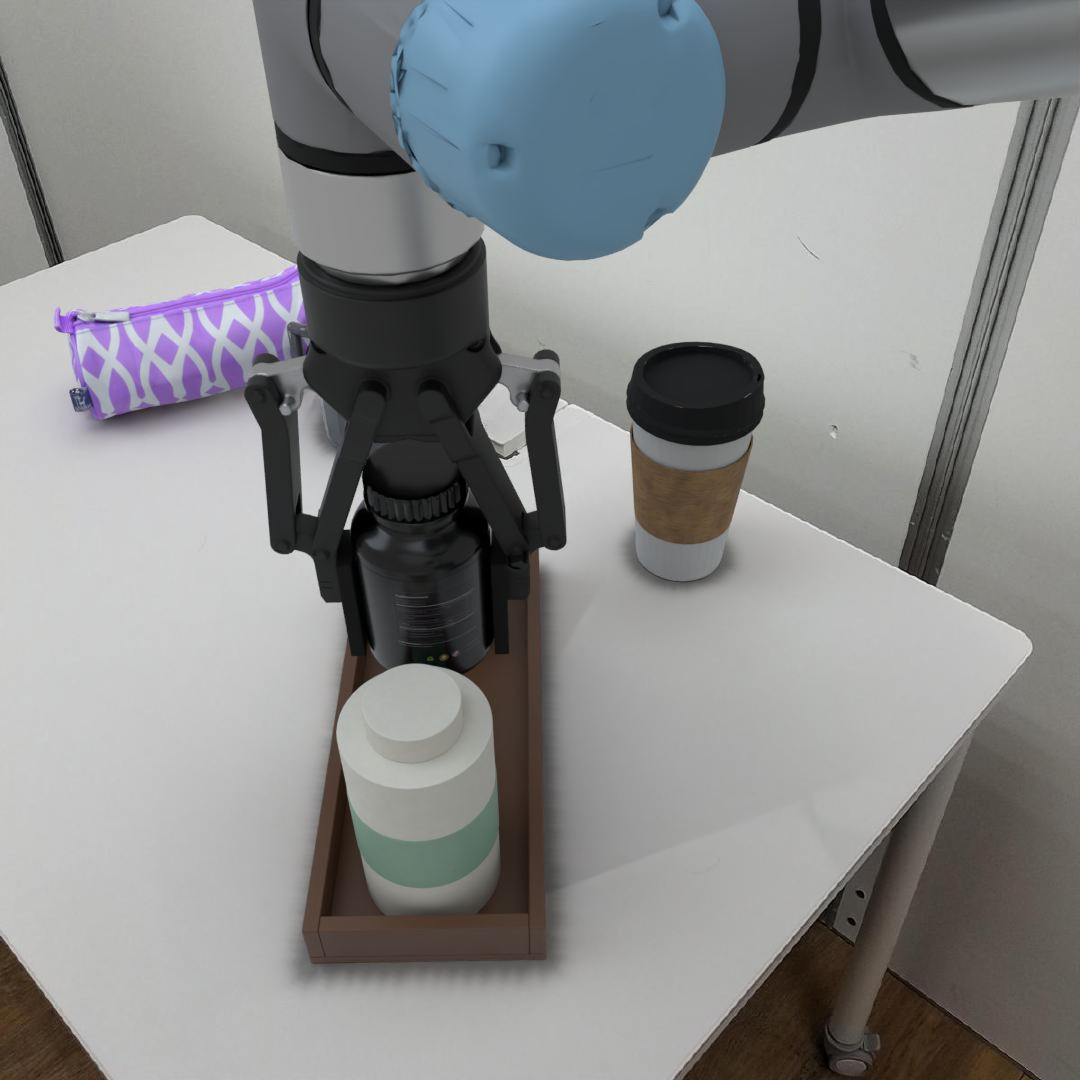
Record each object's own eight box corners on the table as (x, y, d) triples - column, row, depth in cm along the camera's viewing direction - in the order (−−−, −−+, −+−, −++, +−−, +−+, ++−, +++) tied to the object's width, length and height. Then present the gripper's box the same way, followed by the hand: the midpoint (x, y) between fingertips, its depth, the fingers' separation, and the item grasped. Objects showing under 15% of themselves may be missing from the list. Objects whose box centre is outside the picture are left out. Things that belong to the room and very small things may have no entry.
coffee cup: (730, 606, 73) (759, 419, 63) (604, 581, 75) (613, 396, 65) (748, 524, 79) (778, 342, 69) (632, 502, 81) (644, 322, 71)
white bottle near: (521, 902, 57) (515, 736, 48) (386, 951, 55) (353, 788, 46) (475, 793, 62) (462, 623, 52) (350, 835, 60) (313, 666, 51)
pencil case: (87, 447, 86) (50, 342, 80) (71, 385, 92) (35, 283, 86) (361, 378, 93) (347, 276, 86) (329, 324, 99) (314, 225, 93)
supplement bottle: (357, 609, 61) (328, 435, 53) (477, 583, 63) (466, 409, 55) (381, 702, 57) (354, 526, 48) (511, 672, 58) (505, 496, 50)
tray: (539, 571, 75) (538, 537, 73) (545, 959, 55) (545, 927, 53) (367, 574, 75) (362, 540, 73) (310, 963, 55) (301, 931, 53)
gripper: (633, 194, 47) (612, 584, 62) (162, 199, 47) (258, 588, 62) (648, 285, 41) (621, 688, 57) (113, 291, 41) (232, 693, 57)
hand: (431, 635), depth 59 cm, fingers closed on supplement bottle, 7 cm apart
